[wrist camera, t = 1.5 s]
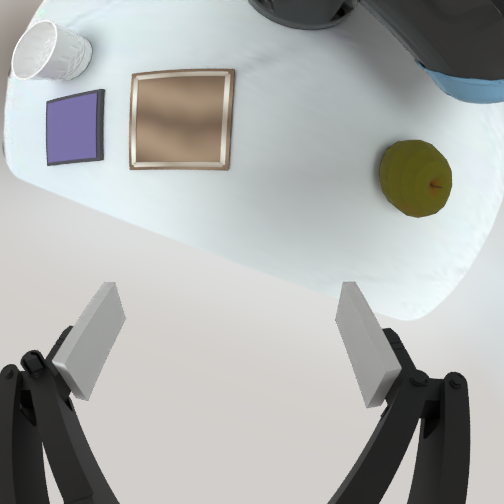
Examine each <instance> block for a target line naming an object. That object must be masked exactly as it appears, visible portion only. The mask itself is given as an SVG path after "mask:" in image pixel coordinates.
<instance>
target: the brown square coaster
mask: <svg viewBox="0 0 504 504" xmlns="http://www.w3.org/2000/svg"><path fill="white" fill-rule="evenodd" d="M234 72H235V70H234V69H180V70H165V71H153V72H144V73H135V74H132V82H131V97H130V122H129V165H130V170H148V169H196V170H228V168H229V149H230V131H231V115H232V100H233V86H234Z"/></svg>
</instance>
